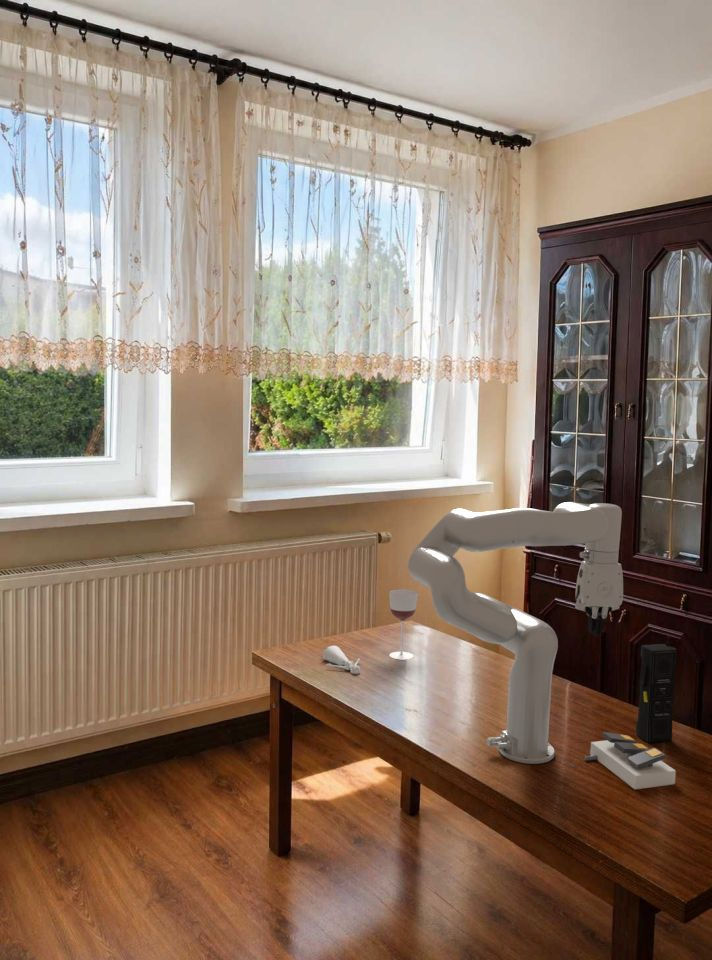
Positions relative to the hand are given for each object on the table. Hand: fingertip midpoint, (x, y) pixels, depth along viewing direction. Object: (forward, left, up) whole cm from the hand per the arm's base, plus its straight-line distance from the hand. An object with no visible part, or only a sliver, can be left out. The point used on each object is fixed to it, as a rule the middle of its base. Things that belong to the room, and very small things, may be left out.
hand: (595, 633), depth 196 cm
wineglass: (-22, +70, -27) cm, 78 cm away
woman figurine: (-42, +65, -27) cm, 83 cm away
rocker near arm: (+2, -9, -23) cm, 25 cm away
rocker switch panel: (0, -14, -27) cm, 30 cm away
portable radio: (+17, -1, -27) cm, 32 cm away
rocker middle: (+2, -14, -23) cm, 27 cm away
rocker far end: (+2, -19, -23) cm, 30 cm away
